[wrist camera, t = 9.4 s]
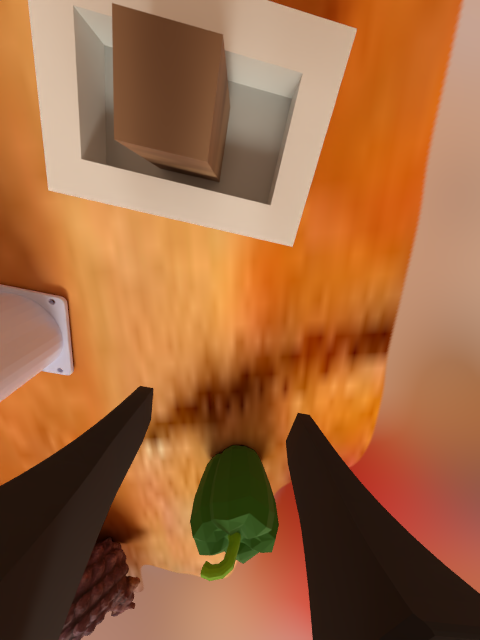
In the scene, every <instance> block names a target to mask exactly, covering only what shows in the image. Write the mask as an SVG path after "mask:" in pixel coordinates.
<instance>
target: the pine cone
mask: <svg viewBox="0 0 480 640" xmlns="http://www.w3.org/2000/svg"><path fill="white" fill-rule="evenodd" d="M128 570H129V567H128V565H127V564H126V555H125V553H124V552H123V550H122V549H121V545H120V543H116V542H112V539H111V537H108V538H107V539H106V540H105V541H104V542H103V541H101V542H99V543H95V546H94V548H93V551H92V553H91V556H90V558H89V561H88V563H87V566H86V568H85V571H84V573H83V576H82V579H81V581H80V584H79V586H78V589H77V591H76V594H75V597H74V599H73V602H72V604H71V607H70V610H69V612H68V615H67V618H66V620H65V623H64V626H63V629H62V631H61V634H60V637H59V639H58V640H80V639H81V638H82V637H83V636H84V635H85V636H86V635H87V636H88V635H89V634H91V633H92V632H93V631H94V629H95V627H96V625H97V624H99V623H101V622H102V620H103V619H104V616H105V614H106V613H107V612H109V611H112V615H111V616H117V615H118V614H121V613H122V612H124V611H125V610H127V609H131V608H133V609H134V607H135V603H133V602H132V601H133V599H134V593H133V590H134V589H135V588H136V587H137V586H138V584H139V582H140V579H139V578H138V577H136V578H135V577H131V576H128V577H127V576H126V574H127V573H128Z"/></svg>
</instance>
